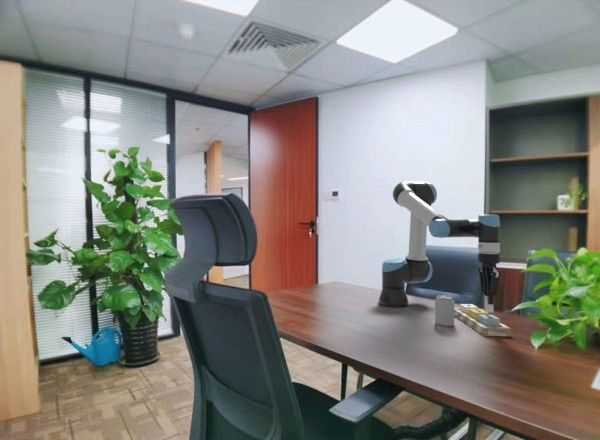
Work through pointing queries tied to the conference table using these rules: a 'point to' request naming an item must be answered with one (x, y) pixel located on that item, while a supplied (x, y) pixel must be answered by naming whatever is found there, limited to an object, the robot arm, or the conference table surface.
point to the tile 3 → (488, 320)
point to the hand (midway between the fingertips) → (489, 311)
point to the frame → (482, 329)
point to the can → (444, 310)
